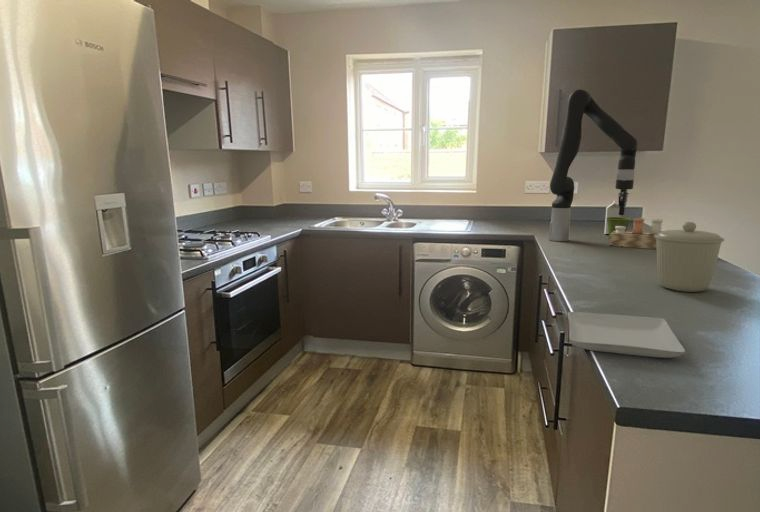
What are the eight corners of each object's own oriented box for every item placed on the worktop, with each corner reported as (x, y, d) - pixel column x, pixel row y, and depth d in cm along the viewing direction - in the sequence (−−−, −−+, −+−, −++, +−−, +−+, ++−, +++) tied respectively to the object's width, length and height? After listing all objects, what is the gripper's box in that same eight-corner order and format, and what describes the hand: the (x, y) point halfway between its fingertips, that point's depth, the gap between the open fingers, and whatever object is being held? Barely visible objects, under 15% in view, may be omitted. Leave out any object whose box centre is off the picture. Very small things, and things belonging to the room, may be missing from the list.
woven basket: (609, 245, 223) (610, 233, 222) (612, 242, 231) (613, 231, 230) (662, 249, 211) (663, 236, 210) (663, 246, 219) (664, 233, 218)
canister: (720, 299, 133) (729, 226, 129) (648, 291, 142) (654, 223, 138) (715, 285, 148) (723, 220, 144) (650, 279, 157) (656, 217, 153)
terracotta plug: (631, 236, 220) (632, 219, 218) (632, 234, 223) (633, 218, 222) (642, 236, 217) (643, 219, 216) (643, 235, 221) (644, 218, 219)
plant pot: (603, 240, 239) (605, 218, 237) (604, 237, 250) (606, 216, 248) (629, 241, 234) (631, 219, 232) (629, 238, 244) (631, 217, 242)
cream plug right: (649, 237, 216) (650, 219, 214) (650, 235, 219) (651, 218, 218) (660, 237, 213) (662, 220, 211) (661, 236, 217) (663, 219, 215)
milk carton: (605, 235, 257) (607, 201, 254) (604, 233, 264) (606, 200, 260) (619, 235, 255) (622, 201, 251) (618, 233, 261) (620, 200, 258)
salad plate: (568, 354, 97) (569, 338, 96) (566, 322, 116) (567, 309, 115) (686, 368, 89) (687, 351, 89) (662, 331, 109) (664, 317, 108)
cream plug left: (613, 243, 225) (614, 226, 223) (614, 242, 228) (616, 225, 227) (623, 244, 222) (625, 227, 221) (625, 242, 226) (626, 226, 224)
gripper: (618, 178, 227) (614, 213, 230) (614, 179, 216) (610, 215, 220) (635, 178, 223) (631, 214, 226) (632, 179, 212) (628, 216, 216)
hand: (621, 215), depth 223 cm, fingers closed
